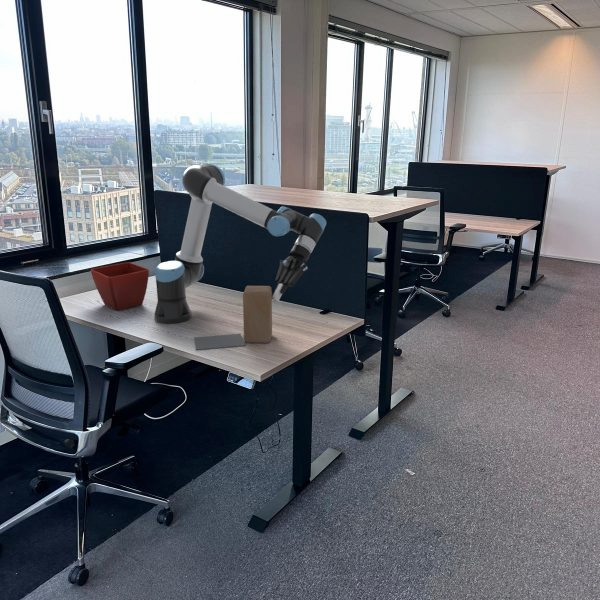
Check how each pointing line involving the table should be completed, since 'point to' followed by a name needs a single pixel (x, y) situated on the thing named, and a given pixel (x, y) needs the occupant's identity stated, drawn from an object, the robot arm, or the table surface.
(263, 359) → the table surface
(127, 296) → the plant pot
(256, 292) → the block
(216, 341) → the mat
